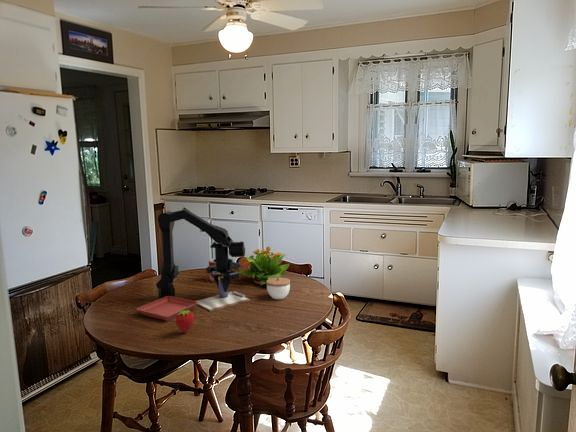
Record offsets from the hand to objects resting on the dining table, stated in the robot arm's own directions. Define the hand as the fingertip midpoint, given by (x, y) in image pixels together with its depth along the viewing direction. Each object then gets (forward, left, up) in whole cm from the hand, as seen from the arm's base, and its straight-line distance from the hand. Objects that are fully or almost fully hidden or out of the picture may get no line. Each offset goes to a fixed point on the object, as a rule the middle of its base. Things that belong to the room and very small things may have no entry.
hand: (223, 290), depth 199 cm
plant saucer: (-26, +2, -4) cm, 26 cm away
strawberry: (-31, -23, -4) cm, 39 cm away
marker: (0, 0, -2) cm, 3 cm away
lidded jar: (+19, -16, -4) cm, 25 cm away
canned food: (+13, +26, -4) cm, 29 cm away
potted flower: (+29, +9, -4) cm, 31 cm away
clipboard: (-3, -3, -4) cm, 6 cm away
